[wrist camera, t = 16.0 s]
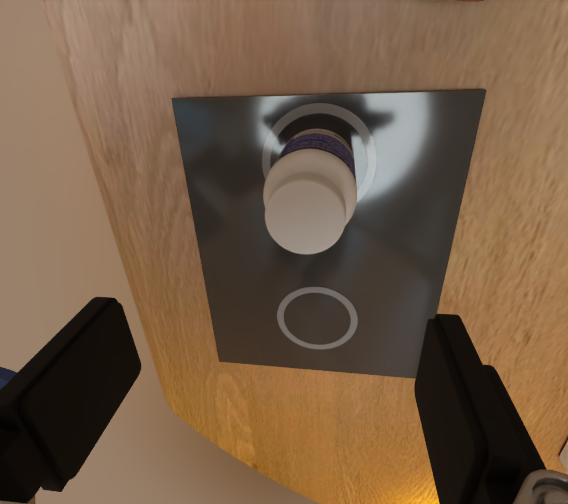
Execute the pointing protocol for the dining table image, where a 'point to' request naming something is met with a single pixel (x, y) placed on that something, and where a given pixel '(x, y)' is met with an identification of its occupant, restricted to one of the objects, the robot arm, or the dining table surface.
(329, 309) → the hob
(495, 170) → the dining table surface
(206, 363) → the dining table surface
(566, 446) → the cup
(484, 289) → the dining table surface
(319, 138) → the pill bottle
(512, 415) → the robot arm
